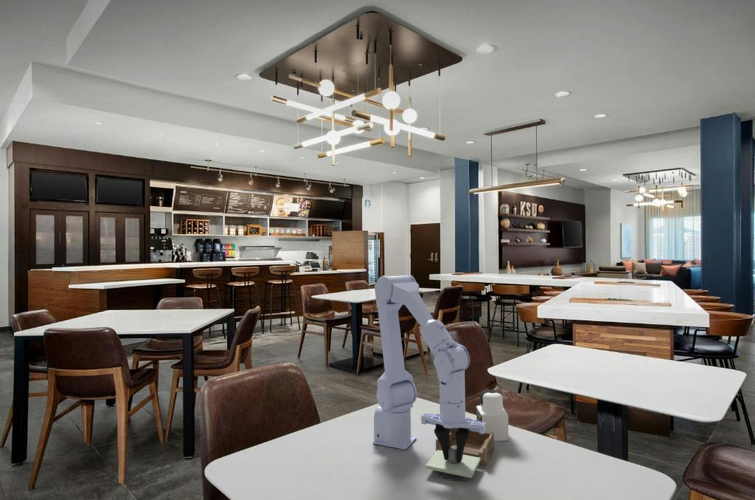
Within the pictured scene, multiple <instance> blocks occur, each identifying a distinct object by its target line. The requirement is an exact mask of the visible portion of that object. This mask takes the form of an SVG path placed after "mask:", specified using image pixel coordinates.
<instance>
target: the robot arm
mask: <svg viewBox="0 0 755 500" xmlns="http://www.w3.org/2000/svg"><path fill="white" fill-rule="evenodd" d="M419 291H420V285H419V283H418V282H417V281H416V279H415V277H414V276H413V275H411V274H405V275H391V276H389V275H388V276H387V275H382V276H379V277H378V279H377V281H376V283H375V284H374V293H375V294H374V295H375V303H376V308H377V312H378V313H377V314H378V321H379V322H378V323H379V328H380V329H379V331H380V338H381V348H382V356H383V367H384V372H383V374H382V375H380V377H379V378H378V379H377V381H376V382H377V387H376V388H377V390H376V396H375V397H376V401H377V404H378V406H377V407H376V408H375V411H374V415H373V441H372V444H375V445H379V446H385V447H389V448H390V447H391V448H395V449H400V450H407V449H408V448H409V447H410V445H412V444H413V443H414V441H415V440H417V436H416V435H413V434H412V418H411V417H412V412H411V410H412V408H413V407H414V406H413V405H414V403H415V402H416V401H417V398H418V390H417V387H416V385H415V383H414V377H413V375H412V373H409V371H407V370H406V367H405V362H404V361H405V360H404V351H403V344H402V343H403V342H402V337H401V336H402V335H401V326H400V317H399V310H400V309H401V307H402V306H403V305H404V306H405V307H406V308H407V310H408V311H409V312H410V313H411V315H412V316H413V317H414V319H415V320H416V322H417V323H418V324H419V326H420V327H421V329H420V336H421V337H422V338H423V340H424V341H425V343H426V345H427V346H428V348H429V350H430V352H431V353H432V354H433V356H434V358H433V360H432V361H433V365H434V368H435V370H436V374H437V376H436V377H437V380H438V381H439V413H426V412H424V413H422V414H421V416H420V417H421V418H420V419H421V421H420V423H421V425H427V424H428V425H432V426H433V425H434V426H435V427H434V430H433V432H434V435H435V436H436V439H437V438H438V440H439V443H440V445H441V448H442V451H443V455H444V460H448V447H449V446H450V444H449V438H450V429H452V428H457V429H458V431H457V432H456V433H455V437H456V444H457V462H458V463H460V462H461V461H462V457H463V451H464V447H465V444H466V441H467V438H468V436H469V434H470V432H471V431H475V432H479V433H480V434H484V433H485V431H486V428H485V422H480V421H477V419H472V418H471V417H467V416H466V380H465V379H466V377H465V376H466V375H465V374H466V373H465V370H467V369H468V368H469V366H470V363H471V358H470V357H471V356H470V353H469V352H468V350H467V348H466V347H465V346H464V345H462V344H460V343H459V342H457V341H455V340H454V339H453V337H452V335H450V333H449V331H448V330H447V329H446V326H445V324H444V323H443V322H442V321H441V320H439V319H434V318H433V316H432V314H431V313H430V311H429V309H428V307H427V305H426V304H425V302H424V299H423V298H422V297H421V295H420V293H419Z"/></svg>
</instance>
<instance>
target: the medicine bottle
mask: <svg viewBox="0 0 755 500" xmlns="http://www.w3.org/2000/svg"><path fill="white" fill-rule="evenodd" d="M479 397H480V398H479V400H480V402H479V405H476V420H477V421H480V422H485V428H486V431H485V432H491V433H494V442H509V437H510V436H509V435H510V434H509V413H508V412H507V411H506V409H505V408H504V394H503V393H502V392H501V391H499V390H496V389H485V390H482V391H481V392H480V395H479Z"/></svg>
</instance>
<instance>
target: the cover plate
mask: <svg viewBox="0 0 755 500" xmlns="http://www.w3.org/2000/svg"><path fill="white" fill-rule="evenodd" d="M480 461H481V459H480V458H478V457H473V456H468V455H463V457H462V461H461V462H460V463H458V462H457V447H456V446H449V447H448V460H444V455H443V451H442V450H437V451H436V450H435V452H434V454H433V455H432V456H431V457H430V459H429V460H428V461H427V463H426V464H425V466H424V467H425V469H426V470H432V471H435V472H436V471H440V472H445V473H450V474H454V475H459V476H464V477H468V478H467V479H469V478H470V479H472V477H473V476H474V474H475V473H476V470H477V469H478V467H479V466H480V465H479V463H480Z"/></svg>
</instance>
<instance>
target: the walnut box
mask: <svg viewBox="0 0 755 500" xmlns="http://www.w3.org/2000/svg"><path fill="white" fill-rule="evenodd" d="M457 431H458V429H457V428H452V429H450V438H449V444H450V446H456V447H457V444H456V437H455V433H456V432H457ZM437 450H442V448H441V445H440V443H439V440H438V438H437V437H436V438H435V452H436V451H437ZM494 450H495V441H494V433H491V432H485V433H484V434H480V433H479V432H475V431H471V432H470V434H469V436H468V438H467V441H466V444H465V447H464V451H463V455H468V456H473V457H478V458H480V459H481V461H480V463H479V465H478V466H482V467H486V466H487V464H488V461H489V459H490V458H491V455H492V453H493V451H494Z"/></svg>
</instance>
